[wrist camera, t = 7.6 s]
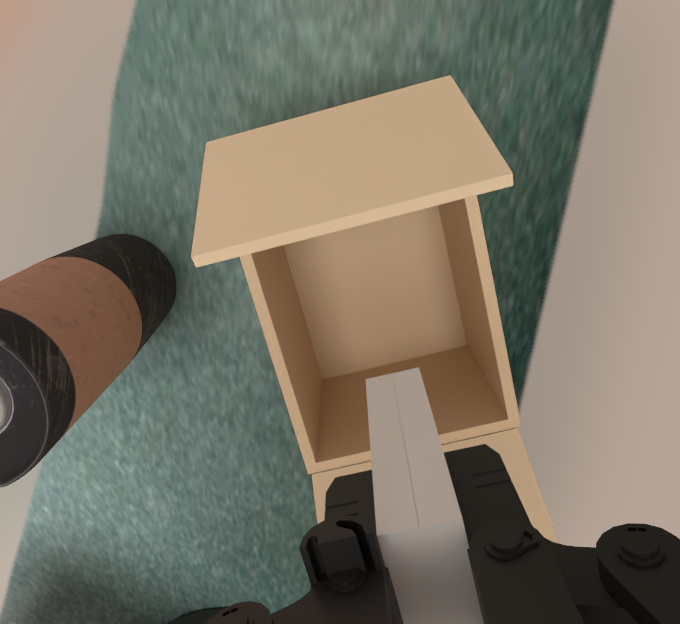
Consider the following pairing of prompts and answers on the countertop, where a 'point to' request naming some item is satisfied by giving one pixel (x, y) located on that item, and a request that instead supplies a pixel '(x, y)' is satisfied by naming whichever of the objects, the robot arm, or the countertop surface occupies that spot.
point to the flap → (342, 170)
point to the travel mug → (72, 338)
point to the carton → (385, 327)
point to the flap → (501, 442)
